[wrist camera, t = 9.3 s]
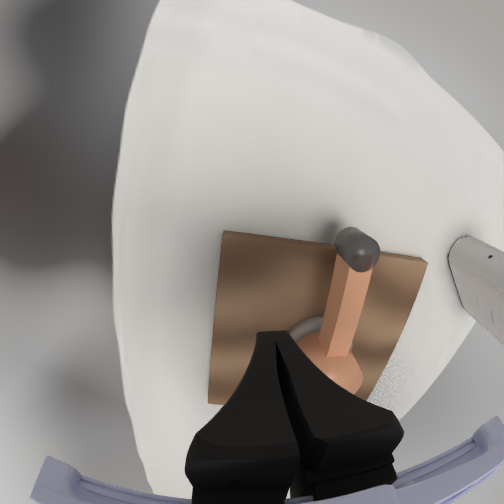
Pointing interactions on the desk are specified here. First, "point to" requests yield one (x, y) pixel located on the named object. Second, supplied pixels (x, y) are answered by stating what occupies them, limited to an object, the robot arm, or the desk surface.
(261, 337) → the robot arm
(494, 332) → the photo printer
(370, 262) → the wooden tool handle
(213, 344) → the walnut base
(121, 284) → the desk surface
